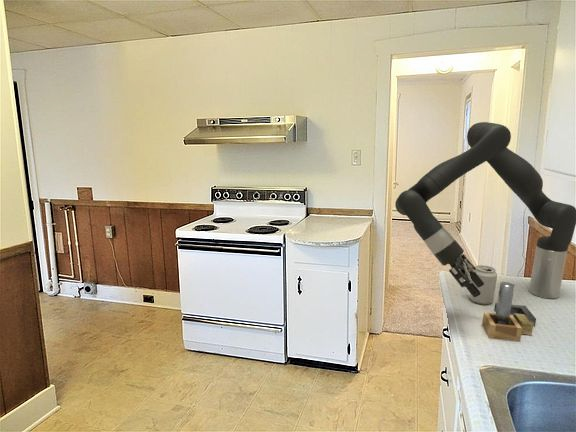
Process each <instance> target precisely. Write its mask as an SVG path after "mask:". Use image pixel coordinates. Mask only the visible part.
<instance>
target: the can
mask: <svg viewBox="0 0 576 432" xmlns="http://www.w3.org/2000/svg"><path fill="white" fill-rule="evenodd" d="M474 267H475V268H476V270H475V271H476V272H477V273H476V274H477V275H478V276H479V277H480V278H481V280H482V281H483V282H484V285H483V286H481V287H477V286H476V285H475V284H474V282H473V281H472V280H471V281H472V283H473V284H474V285H475V286H476V287H477V288H478V290H479V291H480V292H481V294H480V295H479V296H477V297H473V295H472V294H471V293H470V292H469V296H468V297H469V298H470V299H471V301H472V302H473V303H475V302H476V304H478V305H486V306H487V305H489V304H492V303H493V302H494V300H495V299H494V298H495V292H496V285H497V280H498V273H497V272H496V269H495V268H494V267H492V266H489V265H482V264H480V265H476V266H474Z"/></svg>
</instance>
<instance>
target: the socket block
mask: <svg viewBox="0 0 576 432" xmlns="http://www.w3.org/2000/svg"><path fill="white" fill-rule="evenodd" d="M493 308H494V309H493V311H494V313H496V308H497V302H494V307H493ZM515 313H517V314H524V315H525V316H526V317H527V319H528V320H529V321H532V322H533V323H534V325H533V327H536V323H537V318H536V317H535V316H534V314H533V313H532V312H531V311H530V309H529V308H528V307H527V305H519V304H512V305H511V311H510V315H513V316H514V314H515Z"/></svg>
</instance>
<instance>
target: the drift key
mask: <svg viewBox="0 0 576 432" xmlns="http://www.w3.org/2000/svg"><path fill="white" fill-rule="evenodd" d="M514 318H515V319H516V321H517V322H518V323H519V325H520V326H521V327H522V333H521V335H530V336H532V335H533V329H534V326H533V325H534V323H533V322H532V321H529V320H528V319H527V317H526V316H525V315H524V314H517V313H515V314H514Z"/></svg>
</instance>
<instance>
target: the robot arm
mask: <svg viewBox="0 0 576 432" xmlns="http://www.w3.org/2000/svg"><path fill="white" fill-rule="evenodd" d="M511 139H512V133H511V131H510V129H509V128H508V127H507V126H506V125H503V124H500V123H493V122H488V121H482V122H477V123H474V124H473V125H471V126H470V127H469V129H468V131H467V134H466V141H467V144H468V147H470V148H469V149H467V150H465V151H464V152H462V153H460V154H458V155H455V156H454V157H451V158H450V159H447V160H445V161H443V162H440V163H439V164H438V165H436V166H434V168H432V169H430V170H429V171H428V172H427V173H425V174H424V175H423V176H422V177H421V178H420V179H419V180H418V181H417V182H416V183H415V184H414V185H412V186H411V187H409V188H408V189H407V190H404V191H402V192H401V193H400V194H399V195H398V197H397V198H396V200H395V203H394V204H395V210H396V212H397V213H398V214H400V215H401V216H406V217H408V219H409V221H410V222H411V223H412V225H413V228H414V231H415V232H416V233H417V234H418V236H419V237H420V238H421V239H422V240H423V242H424V243H425V245H426V247H427V248H428V249H429V251H430V252H431V253H432V255H434V256H435V258H436V259H437V260H438V262H439V264H441V265H442V266H447V265H449V267H451V268H450V269H449V270H448V271H449V273H450V275H451V276H452V277H453V279H455V281H456V283H458V284H459V286H460V287H461V288H466V289H467V291H468V292H469V294H470V293H471V294H472V295H473V297H477V296H479V295H480V294H481V292H480V291H479V290H478V288H477V287H481V286H483V285H484V282H483V281H482V280H481V278H480V277H479V276H478V275H477V274H476V273H477V272H476V271H475V270H476V268H475V267H476V266H474V265H473V263H472V262H471V261H470V259H468V257H467V256H466V255H465V254H464V253H465V252H464V251H465V250H464V249H463V248H462V246H461V245H460V244H459V243H458V241H457V240H456V239H455V238H454V236H452V234H451V233H450V232H449V231H448V230H447V229H446V228H445V227H444V226H443V225H442V224H441V223H440V221H439V220H438V219H437V218H436V216H434V214H433V213H432V211H431V209H430V207H429V205H428V204H427V203H428V202H429V201H430V200H431V199H432V198H434V197H436V196H437V195H439V194H440V193H441V192H443V191H444V190H445V189H447V188H448V187H449V186H450V185H452V183H455V181H457V180H458V179H459V178H461V177H463V176H464V175H465V174H467V173H469V172H471V171H472V170H473V169H475V168H477V167H478V166H480V165H482V164H484V163H486V162H487V163H488V164H489V165H490V167H491V168H492V169H493V170H494V171H495V173H496V174H497V175H498V176H499V178H501V179H502V181H503V182H504V183H505V184H506V185H507V186H508V187H509V189H510V190H511V191H512V192H513V193H514V194H515V195H516V197H518V198H519V199H520V201H521V202H522V203H524V205H525V206H526V207H527V209H528V210H529V212H530V214H532V216H533V217H534V219H535V220H536V221H537V222H538V224H539V225H541V226H543V227H545V228H548V229H549V228H550V229H551V233H550V235H548V236H541V237H538V239H537V240H536V245H535V251H534V258H533V265H532V268H531V269H532V270H531V275H530V282H529V289H528V292H529V293H531V294H532V295H534V296H536V297H540V298H544V299H552V300H553V299H558V298H559V296H560V291H561V287H562V283H563V282H562V280H563V277H564V276H563V275H564V272H565V271H564V270H565V266H566V261H567V255H568V250H569V246H570V244H571V243H572V241H573V237H574V232H575V229H576V207H575V206H574V205H572V204H568V203H564V202H563V203H562V202H560V201H559V202H558V201H555V200H552V199H550V197H548V196H547V195H546V194H545V193H544V192H543V185H544V181H543V178H542V176H541V174H540V173H539V171H537V170H536V168H535V167H534V166H533V165H532V164H531V163H530V162H529V161H528V160H526V159H525V158H523V157H522V156H520V155H519V154H517V153H515V152H514V151H512V150H511V149H509V148H508V146H509V145H510V143H511ZM471 280H472V281H473V282H474V284H475V285H476V286H477V287H476V286H475V285H474V284H473V283H472V281H471Z"/></svg>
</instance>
